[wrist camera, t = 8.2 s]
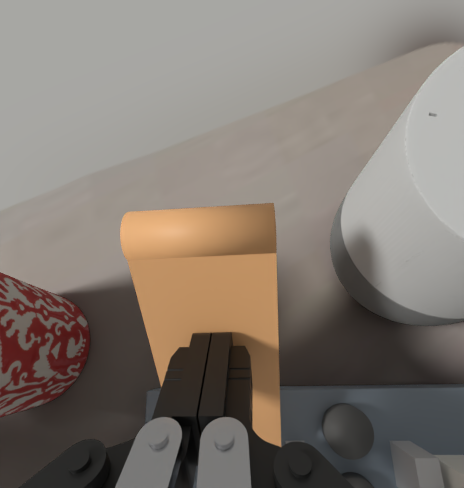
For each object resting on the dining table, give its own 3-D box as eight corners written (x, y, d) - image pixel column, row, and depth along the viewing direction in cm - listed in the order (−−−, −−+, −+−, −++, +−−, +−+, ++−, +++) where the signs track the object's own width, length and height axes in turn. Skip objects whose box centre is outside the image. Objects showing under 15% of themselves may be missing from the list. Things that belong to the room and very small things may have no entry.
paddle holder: (151, 521, 18) (111, 580, 14) (157, 388, 21) (126, 398, 16) (548, 530, 17) (660, 601, 12) (507, 383, 19) (588, 393, 14)
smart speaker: (305, 299, 22) (368, 214, 8) (341, 183, 24) (434, -24, 11) (456, 352, 20) (846, 350, 6) (479, 220, 22) (793, 24, 9)
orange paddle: (180, 463, 16) (115, 224, 10) (186, 428, 18) (134, 204, 12) (281, 464, 15) (275, 215, 10) (279, 427, 17) (271, 195, 11)
